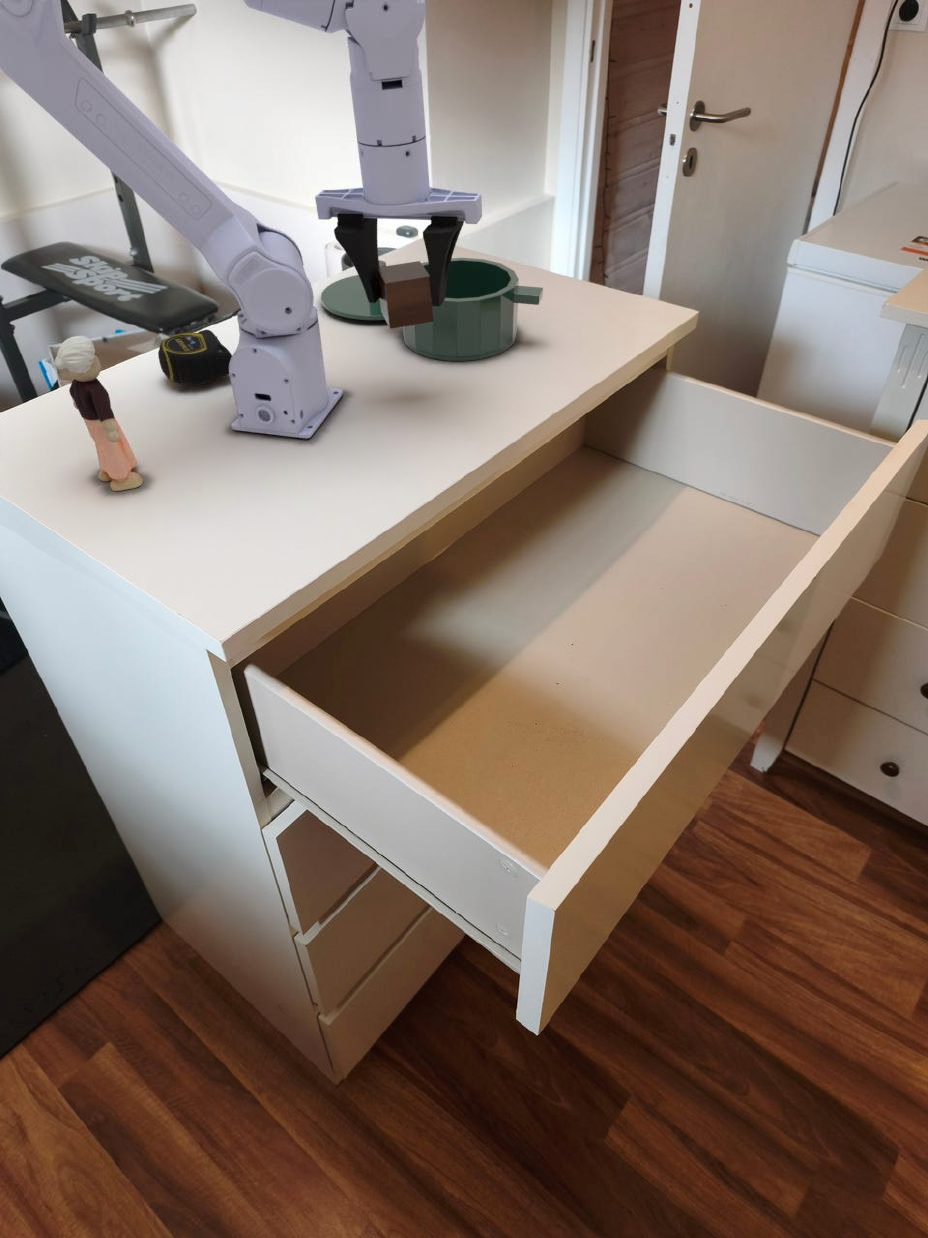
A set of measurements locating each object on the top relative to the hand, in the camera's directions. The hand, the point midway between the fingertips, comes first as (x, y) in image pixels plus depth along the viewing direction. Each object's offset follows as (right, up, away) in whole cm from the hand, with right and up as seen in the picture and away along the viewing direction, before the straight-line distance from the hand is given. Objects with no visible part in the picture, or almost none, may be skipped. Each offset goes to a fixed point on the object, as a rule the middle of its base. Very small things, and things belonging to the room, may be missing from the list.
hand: (407, 300), depth 79 cm
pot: (+5, +2, +16) cm, 17 cm away
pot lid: (-5, +9, +24) cm, 26 cm away
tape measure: (-22, -4, +10) cm, 25 cm away
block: (0, -1, +1) cm, 1 cm away
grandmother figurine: (-25, -17, -5) cm, 31 cm away
